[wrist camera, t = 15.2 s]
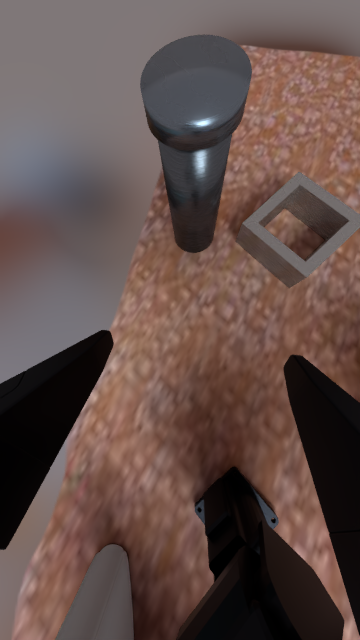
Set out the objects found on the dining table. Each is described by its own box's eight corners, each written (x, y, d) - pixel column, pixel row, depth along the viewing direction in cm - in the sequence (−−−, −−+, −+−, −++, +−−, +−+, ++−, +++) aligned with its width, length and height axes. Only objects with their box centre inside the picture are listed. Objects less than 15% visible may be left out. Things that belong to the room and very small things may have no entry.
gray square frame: (341, 239, 22) (367, 219, 19) (289, 288, 22) (306, 277, 18) (284, 196, 24) (299, 171, 20) (235, 241, 24) (242, 223, 20)
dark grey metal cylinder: (226, 235, 24) (276, 70, 10) (191, 265, 24) (189, 140, 9) (196, 206, 25) (199, 19, 11) (162, 234, 25) (119, 80, 10)
